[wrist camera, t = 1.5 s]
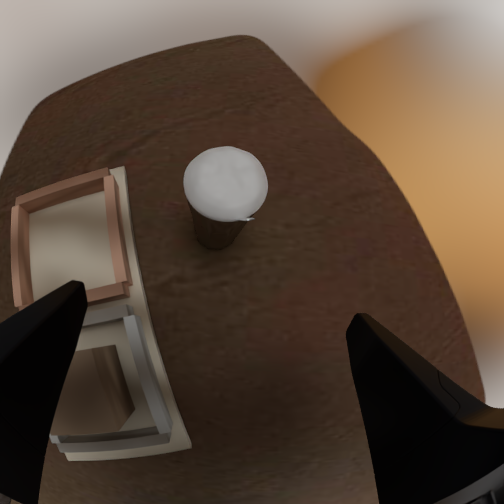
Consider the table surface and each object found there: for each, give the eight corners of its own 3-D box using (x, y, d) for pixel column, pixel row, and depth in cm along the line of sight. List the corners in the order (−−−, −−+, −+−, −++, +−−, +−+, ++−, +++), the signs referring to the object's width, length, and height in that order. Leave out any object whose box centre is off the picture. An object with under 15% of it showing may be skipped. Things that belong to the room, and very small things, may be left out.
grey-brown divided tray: (191, 443, 18) (191, 479, 12) (72, 456, 15) (43, 484, 9) (126, 172, 22) (111, 129, 17) (23, 203, 20) (-8, 173, 14)
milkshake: (197, 275, 21) (199, 231, 12) (181, 212, 22) (175, 134, 13) (253, 260, 22) (296, 210, 13) (234, 200, 24) (260, 121, 14)
